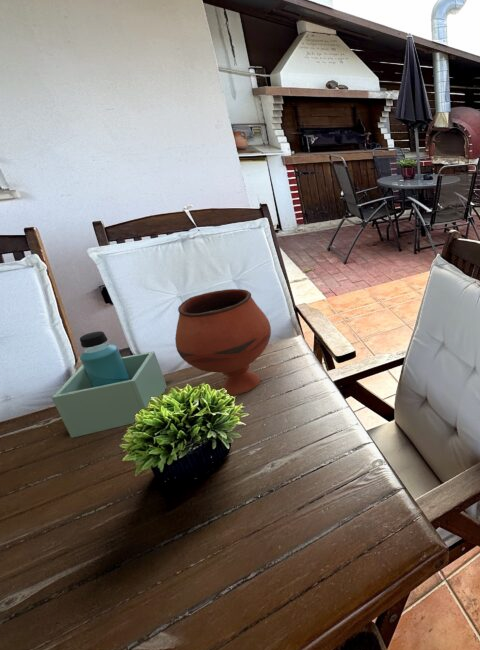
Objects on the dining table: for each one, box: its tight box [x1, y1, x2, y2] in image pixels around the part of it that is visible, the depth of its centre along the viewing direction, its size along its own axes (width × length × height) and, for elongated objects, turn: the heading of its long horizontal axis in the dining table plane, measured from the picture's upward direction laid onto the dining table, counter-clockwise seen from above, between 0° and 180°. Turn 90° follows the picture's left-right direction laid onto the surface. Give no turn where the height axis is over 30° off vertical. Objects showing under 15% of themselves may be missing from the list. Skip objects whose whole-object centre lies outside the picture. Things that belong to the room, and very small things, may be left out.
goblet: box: [174, 288, 272, 396], centre depth 100 cm, size 19×19×25 cm
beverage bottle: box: [79, 330, 130, 388], centre depth 92 cm, size 6×7×20 cm
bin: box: [51, 351, 168, 439], centre depth 94 cm, size 14×14×11 cm
